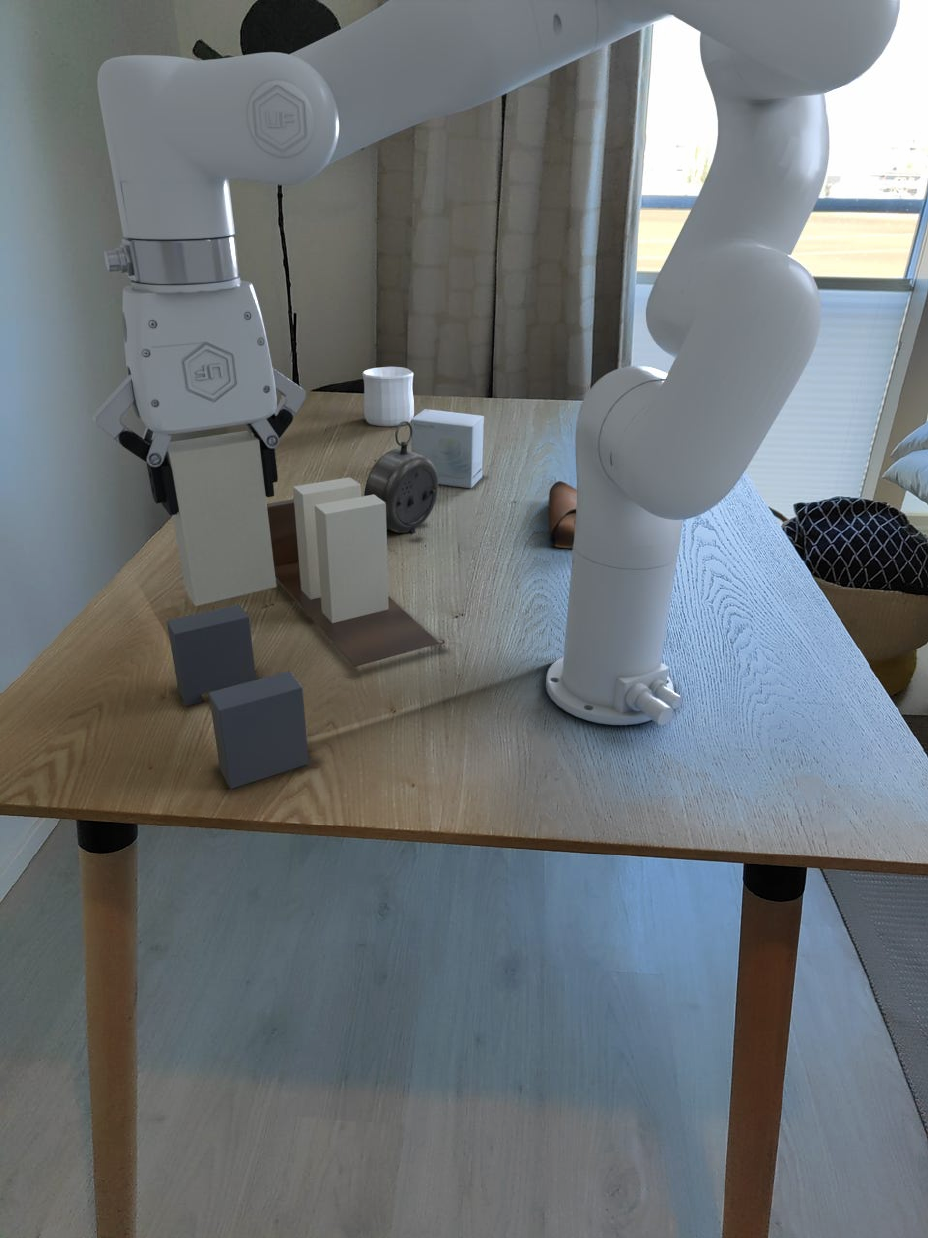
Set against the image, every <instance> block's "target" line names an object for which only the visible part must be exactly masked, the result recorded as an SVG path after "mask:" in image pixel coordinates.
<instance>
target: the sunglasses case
mask: <svg viewBox="0 0 928 1238" xmlns="http://www.w3.org/2000/svg"><path fill="white" fill-rule="evenodd" d="M576 506H577V488H575V487H573V486H572V485H570V484H568V483H566V482H564V481H561V480H558V481H556V482H554V484H552V486H551V488H550V489H549V492H548V508H549V509H548V535H549V536H548V537H549V540H550V542H551V543H552V545H553V546H554V547H555V548H557V549H565V550H566V549H567V550H573V543H574V535H575V522H576Z"/></svg>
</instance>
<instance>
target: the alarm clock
mask: <svg viewBox="0 0 928 1238" xmlns="http://www.w3.org/2000/svg"><path fill="white" fill-rule="evenodd" d="M404 423H406V424H404ZM402 424H404V425H407V426H408V427H409V437H408V439H407V441H405V440H404V441H403V440H402V441H401V442H400V441H399V439H398V433H399V430H400V428H401V426H403V425H402ZM394 435H395V436H394V437H395V442H396V444H397V445H398V446H400V448H394V449H391V450H389V451H387V452H386V453H384V454H383V455H381V457H380V458H379V459H378V460H377V461H376V462H375V463H374V464H373V466H372V468H371V470H370V472H369V474H368V476H367V479H366V482H365V486H364V495H363V496H368V495H375V496H377V497H378V498H380V499H381V500H382V501H384V502H385V503H386V530H390V531H393V532H395V533H399V534H404V533H409V532H411V535H414V534H416V532H417V531H416V529H418V528H419V527H420V526H421V525H422V524H423V523H424V522H425V521H426V520H427V519H428V517H429V516H430V514H431V512H432V511H433V509H434V506H435V504H436V501H437V497H438V492H439V484H438V476H437V472H436V469H435V467H434V465H433V464H432V462H431V461H430V460H429V459H427V458H426V457H424V456H422V455H419V454H416V453H413V452H412V451H411V450H408V445H409V443H410V441H411V437H412V426H411V422H410V423H409V422H408V421H402V422H401V423H400V424H399V425H398V426H396V429H395V434H394Z"/></svg>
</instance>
